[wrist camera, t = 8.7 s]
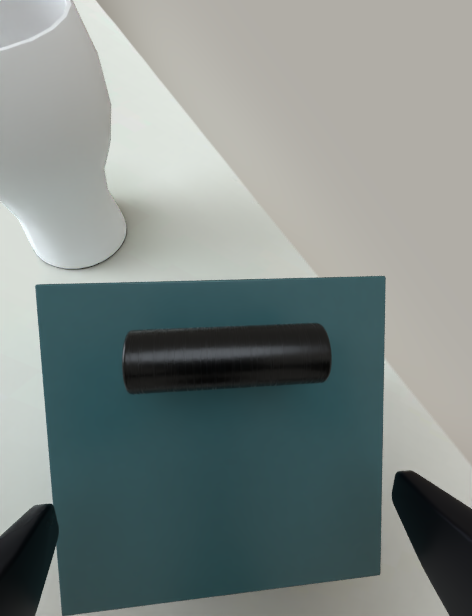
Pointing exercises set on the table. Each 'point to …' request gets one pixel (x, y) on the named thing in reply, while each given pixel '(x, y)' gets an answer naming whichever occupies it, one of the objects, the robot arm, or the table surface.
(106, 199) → the white vase
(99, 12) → the table surface
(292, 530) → the box lid
